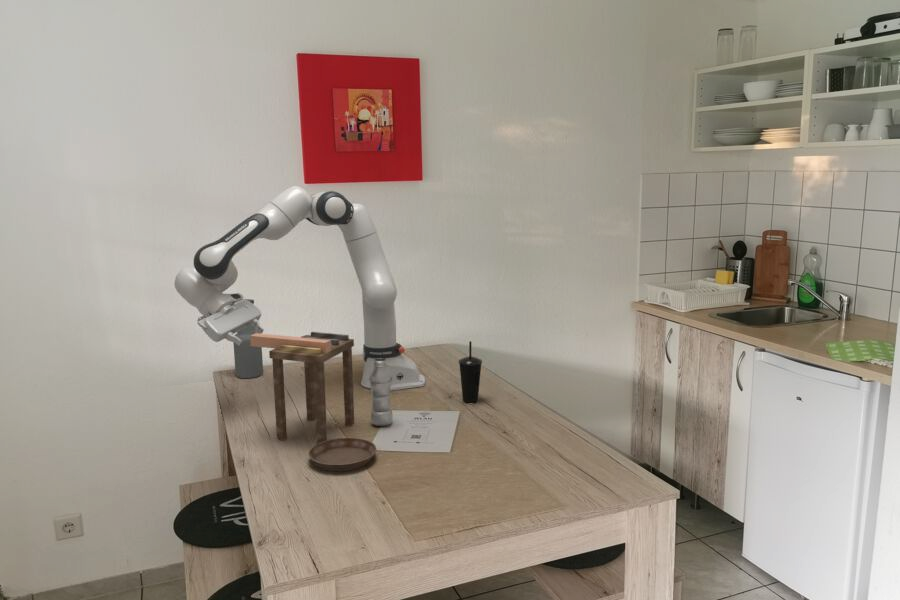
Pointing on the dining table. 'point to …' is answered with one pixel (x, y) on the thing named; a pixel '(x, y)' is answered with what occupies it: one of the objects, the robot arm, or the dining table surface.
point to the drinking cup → (470, 377)
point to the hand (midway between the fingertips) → (251, 337)
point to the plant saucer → (342, 454)
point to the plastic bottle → (380, 393)
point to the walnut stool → (313, 380)
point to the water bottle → (247, 354)
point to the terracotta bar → (288, 342)
